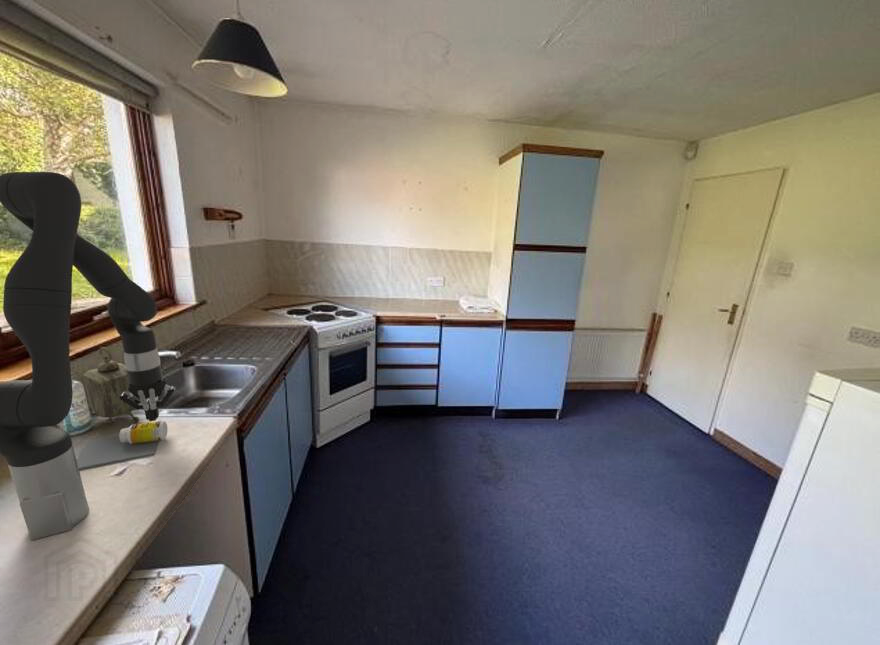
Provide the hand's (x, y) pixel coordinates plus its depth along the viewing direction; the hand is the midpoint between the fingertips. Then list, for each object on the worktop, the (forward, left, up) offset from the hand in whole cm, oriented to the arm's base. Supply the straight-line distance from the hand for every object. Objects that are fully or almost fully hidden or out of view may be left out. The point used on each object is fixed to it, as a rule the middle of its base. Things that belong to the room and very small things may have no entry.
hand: (153, 419), depth 106 cm
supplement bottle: (0, -3, -4) cm, 5 cm away
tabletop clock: (+18, +13, -8) cm, 24 cm away
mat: (0, +8, -8) cm, 11 cm away
